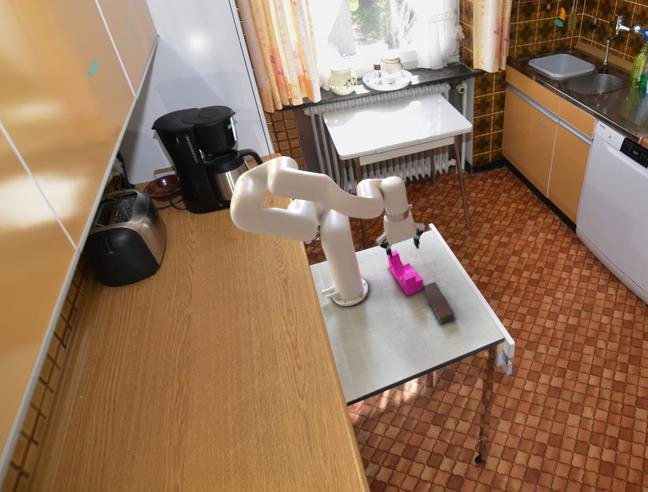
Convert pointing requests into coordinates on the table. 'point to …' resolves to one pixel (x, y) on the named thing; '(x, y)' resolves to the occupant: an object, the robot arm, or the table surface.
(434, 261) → the table surface
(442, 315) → the brown rectangular block
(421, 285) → the toy block
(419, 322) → the table surface
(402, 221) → the robot arm
